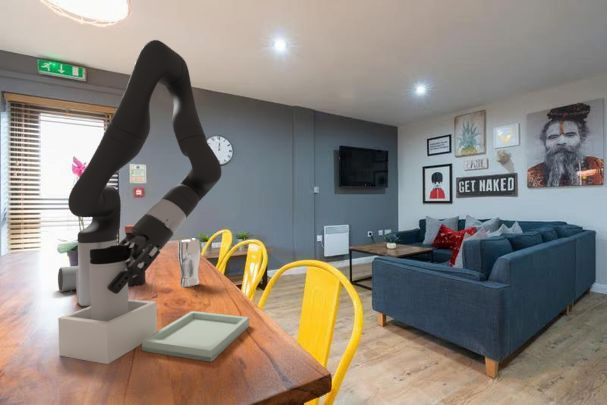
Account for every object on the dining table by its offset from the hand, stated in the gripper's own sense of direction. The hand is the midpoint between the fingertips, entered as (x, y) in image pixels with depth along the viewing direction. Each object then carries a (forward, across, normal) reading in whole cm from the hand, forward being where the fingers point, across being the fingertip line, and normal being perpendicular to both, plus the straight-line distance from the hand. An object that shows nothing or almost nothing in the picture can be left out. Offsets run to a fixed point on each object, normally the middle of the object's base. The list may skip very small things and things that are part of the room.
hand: (102, 287), depth 58 cm
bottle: (-8, -41, +24) cm, 48 cm away
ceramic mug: (+2, -53, +15) cm, 55 cm away
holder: (+7, 0, +9) cm, 12 cm away
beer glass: (-15, -25, +32) cm, 43 cm away
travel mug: (+8, 0, +9) cm, 12 cm away
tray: (-1, +12, +18) cm, 21 cm away
